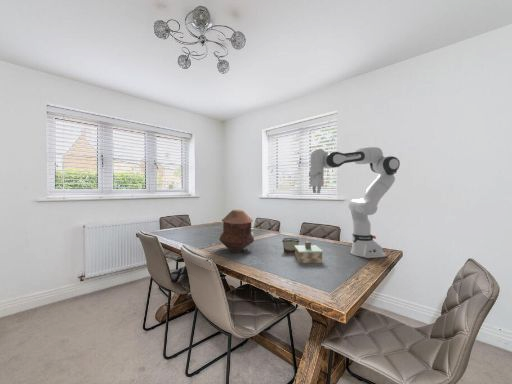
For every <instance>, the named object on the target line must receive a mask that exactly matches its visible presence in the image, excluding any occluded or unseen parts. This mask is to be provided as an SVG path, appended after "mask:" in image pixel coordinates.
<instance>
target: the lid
mask: <svg viewBox="0 0 512 384" xmlns="http://www.w3.org/2000/svg"><path fill="white" fill-rule="evenodd" d="M294 247H295V248H296V249H297V251H298V252H299V253H322V254H323V253H324V250H323V249H321V248H320V247H319V246H317V245H316V244H312V242H311V241H309V240H308V241H304V244H303V245H301V244H298V245H294Z"/></svg>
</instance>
